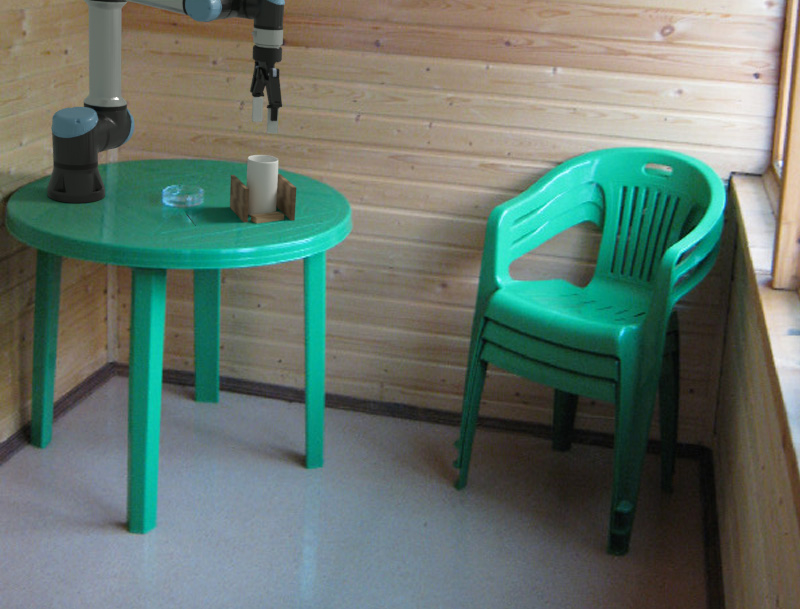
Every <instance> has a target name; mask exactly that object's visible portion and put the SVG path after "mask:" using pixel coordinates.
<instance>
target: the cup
mask: <svg viewBox="0 0 800 609" xmlns="http://www.w3.org/2000/svg"><path fill="white" fill-rule="evenodd" d="M246 166H247V168H246V187H247V188H248V189H249V201H248V216H250V217H251V215H256V214H264V213H272V212H277V207H276V204H277V182H278V174H279V158H277V157H275V156H272V155H268V154H267V155H266V154H254V155H253V154H252V155H249V156H247V164H246Z"/></svg>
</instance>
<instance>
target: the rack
mask: <svg viewBox="0 0 800 609" xmlns="http://www.w3.org/2000/svg"><path fill="white" fill-rule="evenodd" d="M229 190H230V192H229V194H230V195H229V196H230V197H229V208H230V209H231V211H233V212H234V214H235V215H236V216H238V218H239V219H240V220H241V221H242V222H243V223H244V224H245V223H248V222H249V215H248V201H249V189H248V188H247V185H246V184H245V183H244V182H242V181H241V180H240V179H239V177H237V175H235V174H230V189H229ZM296 197H297V187H296V186H295V185H294V184H293V183H292V182H290V180H288V179H287V178H286V177H285V176H283V175H282V174H281V173H278V182H277V204H276V209H277V208H278V210H279V212H280V213H282V214H284V216H286V217H287V219H289V220H290V221H296V206H297V203H296V202H297V201H296V200H297V198H296Z"/></svg>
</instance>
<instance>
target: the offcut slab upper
mask: <svg viewBox="0 0 800 609" xmlns="http://www.w3.org/2000/svg"><path fill="white" fill-rule="evenodd" d="M284 220H285V214H284V213H283V212H281V211H276V212H272V213H264V214H256V215H251V216H250V221H251V222H252V223H254V222H255V224H262V223H270V222H277V221H284Z"/></svg>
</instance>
